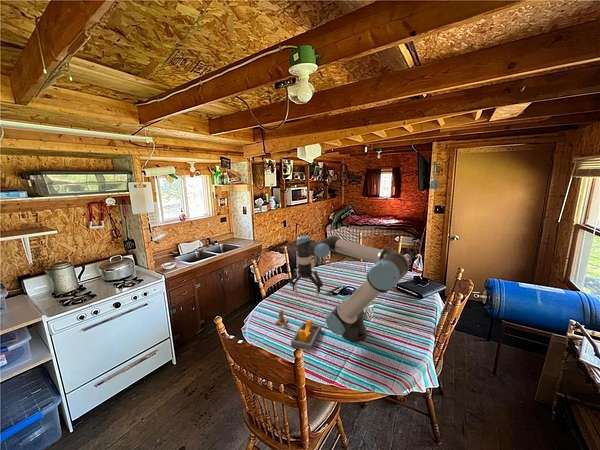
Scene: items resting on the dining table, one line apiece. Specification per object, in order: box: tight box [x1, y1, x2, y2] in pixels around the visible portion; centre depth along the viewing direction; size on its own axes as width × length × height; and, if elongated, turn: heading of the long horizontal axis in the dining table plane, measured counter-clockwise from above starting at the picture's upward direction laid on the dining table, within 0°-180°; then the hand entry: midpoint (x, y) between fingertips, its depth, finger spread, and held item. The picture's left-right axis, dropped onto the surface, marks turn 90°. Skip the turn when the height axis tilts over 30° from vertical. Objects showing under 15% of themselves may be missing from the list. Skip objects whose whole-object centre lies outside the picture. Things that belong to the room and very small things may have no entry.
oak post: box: [275, 309, 289, 327], centre depth 159 cm, size 6×6×8 cm
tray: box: [290, 321, 322, 351], centre depth 144 cm, size 12×18×3 cm, turn 157°
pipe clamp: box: [299, 319, 313, 343], centre depth 144 cm, size 12×4×6 cm, turn 152°
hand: (306, 296), depth 146 cm, fingers open, 13 cm apart
